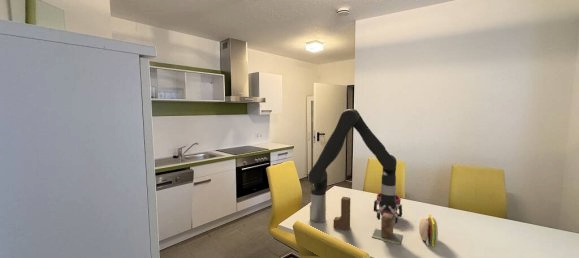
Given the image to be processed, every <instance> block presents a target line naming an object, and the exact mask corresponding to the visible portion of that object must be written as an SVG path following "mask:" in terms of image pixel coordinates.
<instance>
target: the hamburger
mask: <svg viewBox="0 0 579 258" xmlns="http://www.w3.org/2000/svg"><path fill="white" fill-rule="evenodd" d="M418 224H419V225H418V232H419V235H420V238H421V239H422V240H423V241H425V244H426V246H429V242H430V244H431V247H435V244H436V243H437V241H438V239H439V238H438V236H439V230H438V222H437V219H436V218H435V217H433V216H432V213H429V214H428V218H427V217H426V216H423V217H422V218H421V219H420V221H419V223H418Z"/></svg>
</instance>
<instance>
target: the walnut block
mask: <svg viewBox="0 0 579 258" xmlns="http://www.w3.org/2000/svg"><path fill="white" fill-rule="evenodd" d="M393 216H394V215H393V214H388V213H383V216H382V215H381V217H380V220H381V222H380V223H381V225H380V229H381V237H382V238H386V239H390V240H391V238H392V236H393V233H394V218H393Z"/></svg>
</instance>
